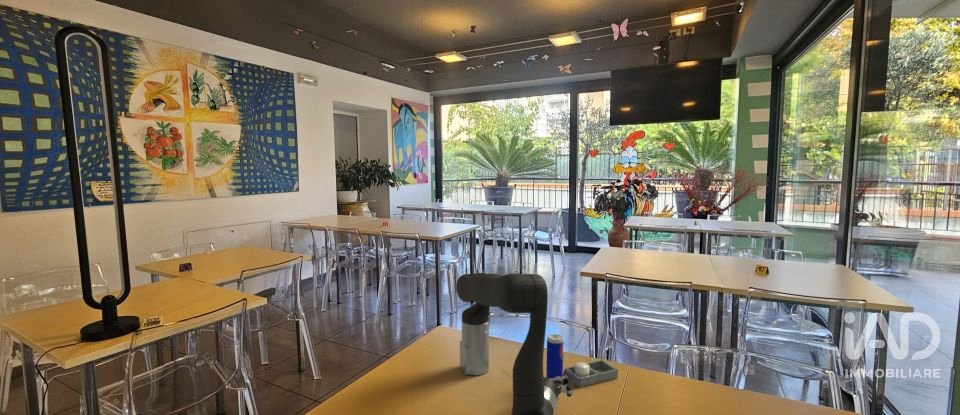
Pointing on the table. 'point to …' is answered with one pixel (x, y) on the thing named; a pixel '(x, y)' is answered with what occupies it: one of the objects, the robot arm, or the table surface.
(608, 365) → the carrier
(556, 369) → the beverage can
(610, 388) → the table surface
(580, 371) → the ball
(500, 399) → the table surface
